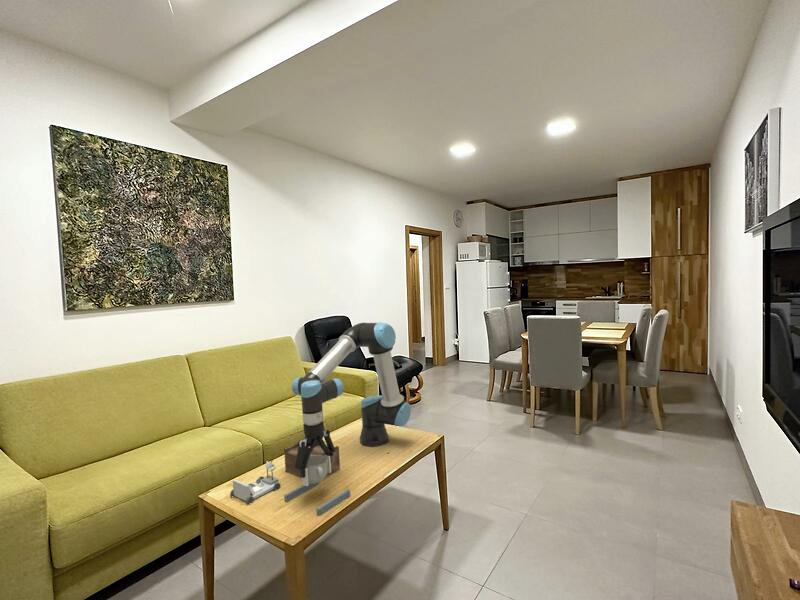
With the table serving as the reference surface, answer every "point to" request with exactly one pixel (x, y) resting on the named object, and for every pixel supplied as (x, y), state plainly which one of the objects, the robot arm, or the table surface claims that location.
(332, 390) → the robot arm
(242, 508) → the table surface
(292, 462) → the walnut stand
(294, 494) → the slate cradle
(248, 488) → the toy rover
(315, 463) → the teacup
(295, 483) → the table surface
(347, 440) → the table surface
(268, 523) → the table surface
